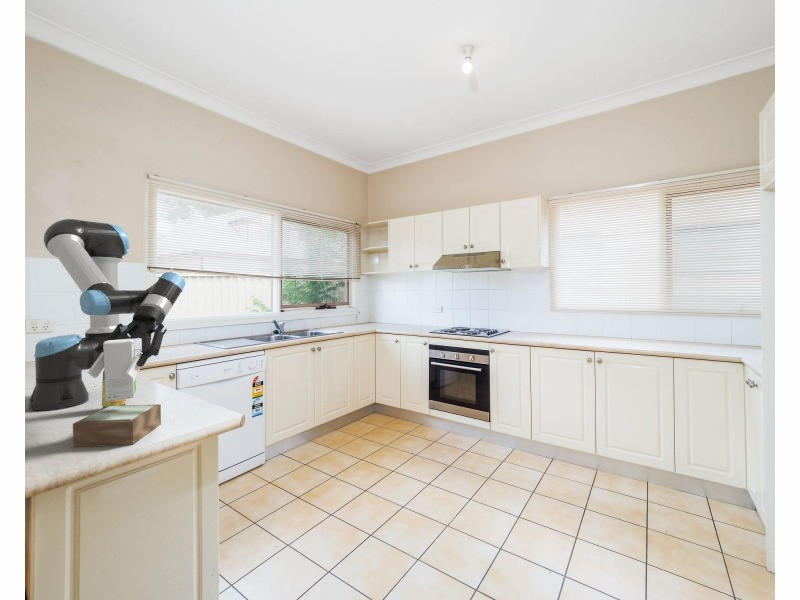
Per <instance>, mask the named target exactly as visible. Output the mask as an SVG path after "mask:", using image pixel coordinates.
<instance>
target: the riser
mask: <svg viewBox="0 0 800 600" xmlns="http://www.w3.org/2000/svg"><path fill="white" fill-rule="evenodd" d="M161 408H162V405H161V404H160V403H159V404H157V403H156V404H136V405H135V404H131V405H126V404H125V405H123V406H108V407H106V408H104V409H102V408H101V409H99V410H97V411H96V412H94V413H92V414H90V415H88V416H85V417H84V418H82V419H80V420H78V421H75V422H73V423H72V443H73V444H72V445H73V446H72V447H73V448H89V447H90V448H91V447H110V446H111V447H112V446H115V447H116V446H133V445H135V444H136V443H137V442H139V441H141V440H142V439H143V438H144V437H146V436H147V435H149V434H150V433H151V432H152V431H154V430H156V428H158V427H160V426H161V425H162V418H161V417H162V413H161V412H162V409H161ZM159 425H160V426H159Z"/></svg>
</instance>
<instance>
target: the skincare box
mask: <svg viewBox="0 0 800 600" xmlns="http://www.w3.org/2000/svg"><path fill="white" fill-rule="evenodd" d="M103 351H104V368H103V371H104V375H105V401H114V400H122V399H126V400H128V399H133V398H135V396H136V393H137V381H136V380H137V379H136V376H135V377H134V379H131V378H130V377H129V376H128V375H127V374H125V373H126V371H127V369H128V368H129V366H130V365H131V363H132V362H133V360H134V358H135V357H136V354H135V339H120V340H108V341H105V342H104V343H103Z"/></svg>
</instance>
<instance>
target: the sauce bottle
mask: <svg viewBox="0 0 800 600" xmlns="http://www.w3.org/2000/svg"><path fill="white" fill-rule="evenodd" d="M101 389H102V390H101V392H102V393H101V406H102V408H101V410H102V409H104V408H106V407H108V406H123V405H126V403H127V399H122V400H114V401H105V375H104V370H102V388H101Z"/></svg>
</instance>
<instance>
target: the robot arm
mask: <svg viewBox="0 0 800 600" xmlns="http://www.w3.org/2000/svg"><path fill="white" fill-rule="evenodd" d="M43 244H44V246H45V248H46V249H47V252H49V254H50V255H52V256H53V257H55V258H57V259H58V260H59V262H60V264H62V267H63V268H64V269H65V271H66V272H67V273H68V274H69V275H68V276H70V277H71V279H72V281H74V284H75V285H76V286H77V288H78V289H79V290H80V291H81V294H80V296H79V306H80V310H81V312H82V313H83V314H85V315H87V316H89V328H88V329H86V331H85V332H84V337H82V335H80V334H68V335H65V334H64V335H57V336H51V337H48V338H44V339H41V340H40V341H38V342H37V343H36V344H35V348H34V349H35V351H34V355H33V356H34V359H35V363H34V364H35V365H34V366H35V367H34V368H35V387H33V391H32V393H31V395H30V399H29V401H28V409H29V410H30V409H32V410H31V411H36V410H43V411H51V410H60V409H66V408H70V407H74V406H79V405H81V404H84V403H87V402H88V401H89V391H88V390H87V386H86V385H85V383H84V381H83V378H82V377H83V375H82V372H83V371H85V370H88V371H87V374H88V375H90V377H92V378H93V379H97V378H98V377H99V375H100V374H101V372H103V371H104V351H103V343H104V342H105V341H108V340H120V339H134V340H136V339H141V349H140V352H137V354H135V358H134V360H133V362H132V363H131V365H130V366H129V368H128V369H127V371H126V373H125V374H127V375H128V376H129V377H130V378H131V379H134V377H135V376H136V375H137V374H138V372H139V371H140V369H141V367H144V366H145V364H146V363H147V362H148V359H149V358H151V357H153V356H154V357H157V356H158V355H159V353H160V351H161V350H160V349H161V346H162V342H163V337H164V335H165V334H166V333H167V331H168V330H167V328H166V326H165V325H164V324H163V323H164V321H165V319H166V317H167V315H168V314H169V312H170V311H171V309H172V307H173V306H174V305H175V303H176V301H177V299H178V298H179V297H180V295H181V293H183V292H184V291H183V290H184V288H185V286H186V280H185V279H184V278H183V276H181V275H179V274H178V273H177V272H173V271H166V272H164V273H162V274H161V276H160V277H158V280H157V281H156V282H155V283H154V284H151V286H150V287H148V288H146V289H143V290H142V289H141V290H132V289H131V290H129V289H127V290H122V289H119V271H118V268H119V267H118V265H119V263H120V262H122V261H123V257H124V256H126V255H128V253H129V250H130V240H129V237H128V234H127V233H126V230H125V229H124V228H122V227H121V226H118V225H115V224H110V223H106V222H105V223H103V222H96V221H90V220H89V221H88V220H82V219H81V220H80V219H75V218H65V219H61V220H58V221H56V222H54V223H52V224H51V225H50V226H49V227H48V228H46V230H45V232H44V235H43ZM124 314H126V315H127V314H128V315H129V314H133V315H132V320H131V322H129V323H128V324H126V325H125V324H123V323H120V315H124ZM152 334H153V337H152Z"/></svg>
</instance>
